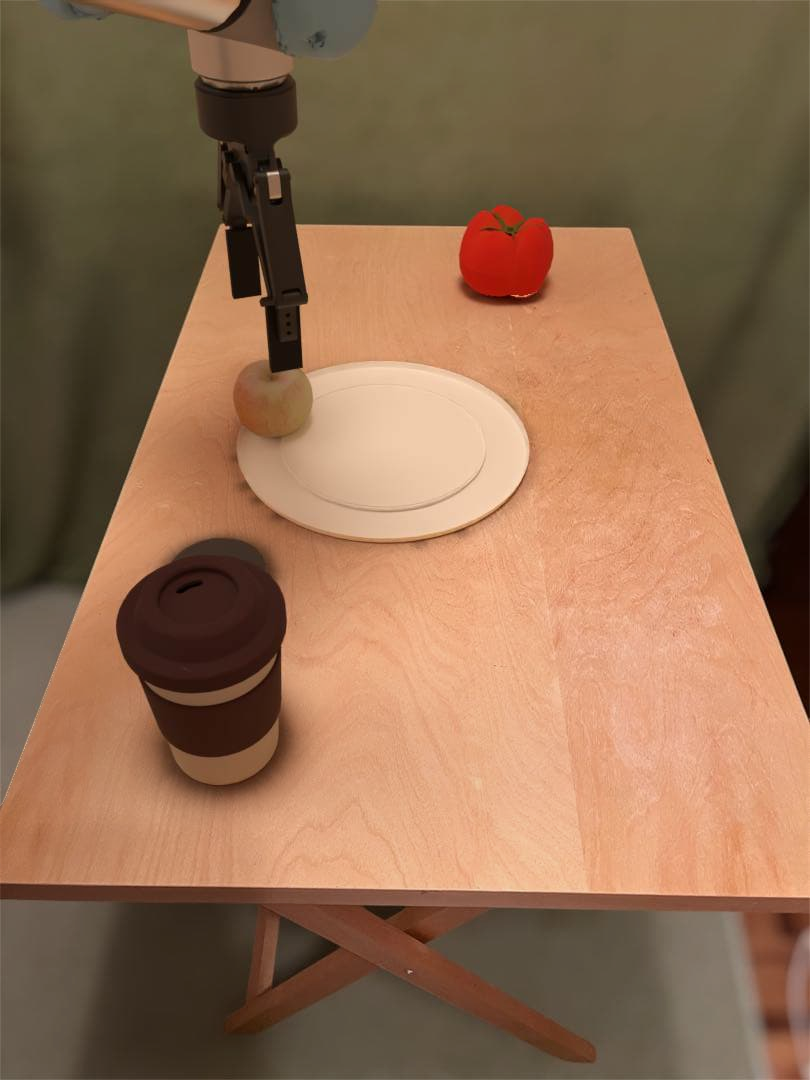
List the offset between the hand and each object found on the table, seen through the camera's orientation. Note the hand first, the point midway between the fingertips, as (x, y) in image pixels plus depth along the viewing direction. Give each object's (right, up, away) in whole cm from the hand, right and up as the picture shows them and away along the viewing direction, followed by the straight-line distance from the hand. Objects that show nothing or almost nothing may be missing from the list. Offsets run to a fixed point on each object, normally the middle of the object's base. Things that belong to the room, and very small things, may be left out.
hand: (265, 330), depth 82 cm
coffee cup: (0, -33, -19) cm, 38 cm away
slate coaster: (-3, -22, -7) cm, 23 cm away
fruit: (0, -8, +8) cm, 11 cm away
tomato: (+25, +12, +30) cm, 41 cm away
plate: (+11, -10, +6) cm, 16 cm away
